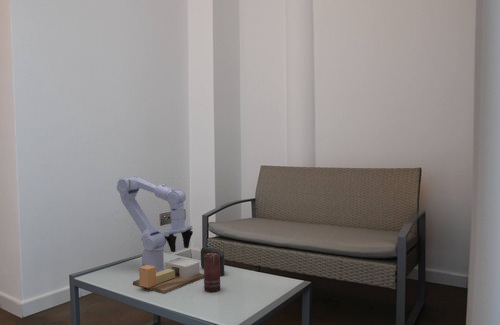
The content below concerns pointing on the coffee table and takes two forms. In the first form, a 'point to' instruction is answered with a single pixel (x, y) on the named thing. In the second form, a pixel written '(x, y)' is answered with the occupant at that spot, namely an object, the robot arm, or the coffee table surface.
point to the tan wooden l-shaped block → (154, 276)
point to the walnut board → (172, 283)
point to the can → (212, 271)
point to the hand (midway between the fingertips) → (179, 249)
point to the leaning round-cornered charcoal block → (205, 250)
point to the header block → (184, 267)
